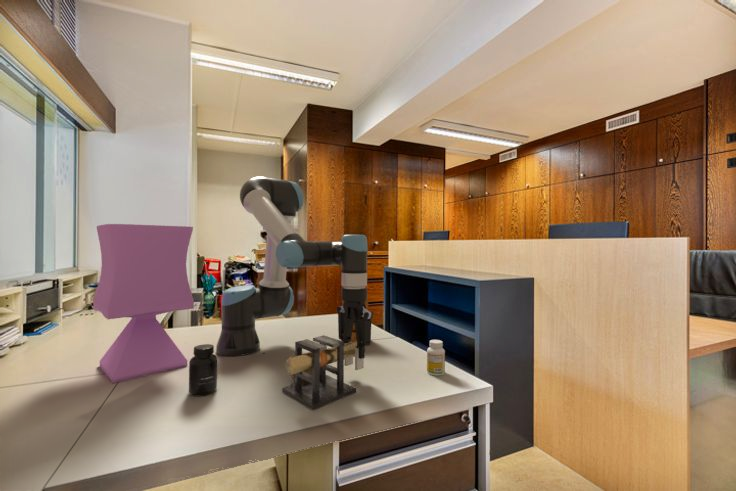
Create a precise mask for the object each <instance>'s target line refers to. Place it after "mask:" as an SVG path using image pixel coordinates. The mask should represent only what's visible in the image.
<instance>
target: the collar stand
mask: <svg viewBox="0 0 736 491" xmlns="http://www.w3.org/2000/svg"><path fill="white" fill-rule="evenodd" d="M329 347H330V348H334V347H337V362H336V367H335V366H333V365H331V364H327V365H325V366H322V367H320V351H323V350H326V349H328V348H329ZM303 350H306V351H307V352H312V375H310V374H308V373H306V372H304V371H303V372H299V373H296V374H295V379H294V383H293V384H290V385H287V386H283V387H282V393H284V394H285V395H287V396H289V397H290V398H292V399H294V400H296V401H297V402H299V403H301V404H302V405H304V406H306V407H307V408H309V409H310V410H312V411H314V410H317V409H319V408H322V407H323V406H326V405H329V404H332V403H334V402H336V401H339V400H341V399H344V398H347V397H348V396H351V395H353V394H355V393H357V388H356V387H354V386H352V385H350V384H347V383H345V380H344V379H345V377H344V373H345V372H344V370H345V366H344V363H345V360H344V342H343V341H341V340H340V339H336V338H333V337H329V336H327V335H325V334H324V335H323V334H322V335H319V336H315V337H313V338H312V340H310V339H308V338H307V339H303V340H298V341H295V342H294V356H295V357H296V356H300V355H302V354H303ZM326 372H329V373H332V374H334V375H336V378H334V377H331V376H329V375H327V373H326ZM302 379H304V380H305V381H302Z"/></svg>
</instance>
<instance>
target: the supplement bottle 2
mask: <svg viewBox="0 0 736 491" xmlns="http://www.w3.org/2000/svg"><path fill="white" fill-rule="evenodd" d="M443 343H444V342H443V341H442V340H440V339H431V340H429V347H427V350H426V371H427V373H428V374H429V375H431V376H434V377H435V376H436V377H437V376H438V377H439V376H443V375H445V374H446V373H445V372H446V368H445V367H446V363H445V362H446V350H445V349H444V348H443V346H444V344H443Z"/></svg>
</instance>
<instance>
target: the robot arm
mask: <svg viewBox="0 0 736 491" xmlns="http://www.w3.org/2000/svg"><path fill="white" fill-rule="evenodd" d="M239 200H240V203H241V205H242V207H243V208H244V209H245V211H246V212H247V213H249V214H252V215H253V216H254V219H256V221H257V222H258V223H259V225H260V226H261V228H262V229H263V230H264V231H265V233H266V243H265V245H266V246H265V254H264V255H265V257H264V267H263V277H262V279H261V280H260V281H259V282H258V288H257V287H256V286H255V285H254V284H253V285H252V284H249V285H248V284H247V285H246V284H245V285H238V286H233V287H229V288H227V289H226V290H224V291H223V292H222V295H221V302H220V304H221V331H220V334H219V338H218V340H217V343H216V347H215V350H216V351H215V353H216V354H217V355H219V356H223V357H238V356H245V355H250V354H252V353H255V352H258V351H259V350H260V348H261V345H260V344H261V341H260V339H259V336H258V333H257V330H256V320H259V319H265V318H273V317H280V316H283V315H286V314H288V313H289V312H290V311H291V309H292V307H293V305H294V301H295V295H294V290H293V289H292V287H291V286H290V283H289V282H288V280H286V279H287V269H288V268H292V269H296V268H304V267H305V268H306V267H327V266H335V267H336V266H339V267H341V282H340V284H341V286H342V287H341V290H342V293H341V301H342V300H343V301H344V303H343V306H342V305H341V306H340V305H339V306H337V307H336V312H337V323H338V324H337V326H338V327H337V331H338V340H340V341H341V340H342V341H343V342H344V344H349V343H353V342H350V341H353V340H352V339H351V337H352V330H353V324H355V332H356V340H357V346H355V357H352V358H348V359H345V360H344V367H348V366H351V365H354V370H355V371H359V370H362V369H364V368H365V366H364V362H365V361H364V359H365V357H366V347H368V346H370V345H372V344H371V343H372V319H373V316H374V312H373V311H372V310H371V311H369V309H368V310H367V309H366V306H365V301H366V300H367V295H368V294H367V293H368V288H367V286H368V252H369V251H368V250H369V249H368V239H367V236H366V235H364V234H343V235H342V236H341V241H331V240H327V241H321V240H320V241H317V240H314V241H313V240H304V237H302V235H300V234H299V233H298V231H297V230H296V229H295V228H294V226H293V225H292V220H293V219H295V218H296V216H297V212H300V211H301V209H302V208H303V206H304V193H303V190H302V188H301V186H300V184H298V183H297V182H295V181H290V180H288V179H279V178H273V177H266V176H255V177H252V178H249V179H248V180H246V181H244V184H243V185H242V187H241V188H240V191H239ZM366 288H367V289H366ZM358 319H360V320H358ZM342 334H343V335H342ZM361 342H362V343H361Z"/></svg>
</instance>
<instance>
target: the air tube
mask: <svg viewBox="0 0 736 491" xmlns="http://www.w3.org/2000/svg"><path fill="white" fill-rule="evenodd" d="M361 343H362V342H361ZM355 346H357V342H353V343H349V344H344V361H345V359H348V358H352V357H353V358H355ZM291 357H292V356H291ZM291 357H289V358H287V359H286V362H285V368H286V371H287V373H288V374H289V375H290V376H292V375H293V374H296V373H299V372H303V371H306V370H310V369H312V353H308V354H304V355H300V356H296V357H292V358H291ZM333 363H337V347H334V348H332V347H330V348H329V347H327V349H326V350H323V351H320V367H322V366H325V365H327V364H328V365H331V364H333Z"/></svg>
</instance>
